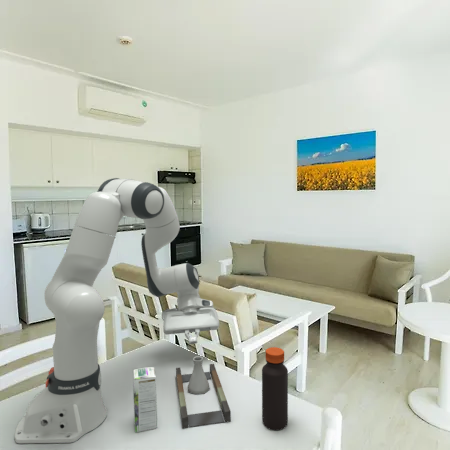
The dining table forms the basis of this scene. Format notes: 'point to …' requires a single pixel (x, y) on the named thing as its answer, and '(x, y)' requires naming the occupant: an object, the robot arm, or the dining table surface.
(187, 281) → the robot arm
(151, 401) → the syrup box
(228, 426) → the dining table surface
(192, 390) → the flask
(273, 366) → the bottle
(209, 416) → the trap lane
